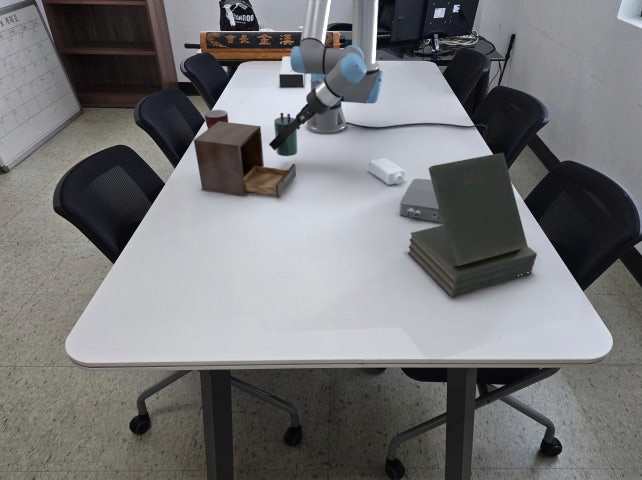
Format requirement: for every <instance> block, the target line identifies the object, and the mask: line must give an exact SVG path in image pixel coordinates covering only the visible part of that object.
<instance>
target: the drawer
mask: <svg viewBox="0 0 642 480" xmlns="http://www.w3.org/2000/svg"><path fill="white" fill-rule="evenodd" d="M296 165H297V164H296V163H292V165H291V166H290V167H289V168H288V169H285V168H283V169H282V168H276V167H268V166H264V167H262V166H254V167H253V168H252V169H251V170H250V171H249V172H248V173H247V174H246V175H245V176H244V184H245V191H248V192H250V193H257V194H264V195H271V196H275V197H276V198H277V199H279V198H280V197H281V196H282V195H283V193H284V192H285V191H286V190H287V189H288V187H289V186H290V185H291V184H292V182H293V181H294V180H295V178H296V177H297V167H296Z"/></svg>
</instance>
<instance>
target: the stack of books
mask: <svg viewBox="0 0 642 480" xmlns="http://www.w3.org/2000/svg"><path fill="white" fill-rule="evenodd" d="M427 169H428V172H429V177H430V180H432V184H433V188H434V192H435V196H436V200H437V204H438V208H439V211H440V215H441V219H442V223H441V224H442V225H437V226H433V227H430V228H425V229H420V230H416V231H412V232H410V235H411V236H410V238H409V239H408V240H409V242H410V245H408V248H409V252H407V254H408V255H409V257H411V259H413V261H414V262H415V263H416V264H417V265H418V266H419V267H420V268H421V269H422V270H423V271H424V272H425V273H426V274H427V275H428V276H429V277H430V278H431V279H432V280H433V281H434V282H435V283H436V284H437V285H438V286H439V288H441V290H443V292H444V293H445V294H446V295H447V296H448V297H449V298H450V299H452V298H455V297H458V296H461V295H465V294H468V293H472V292H475V291H479V290H482V289H485V288H489V287H492V286H495V285H499V284H503V283H506V282H509V281H513V280H516V279H519V278H523V277H526V276H530V275H531V274H532V272H533V268H534V265H535V263H536V262H535V261H536V259H537V256H538V252H536V251H534V250H533V249H532V247H531V248H530V247H529V246H528V241H527V238H526V234H525V230H524V227H523V222H522V218H521V215H520V212H519V211H520V210H519V207H518V204H517V203H518V202H517V199H516V196H515V192H514V187H513V184H512V181H511V176H510V173H509V168H508V165H507V161H506V157H505V154H504V152H498V153H493V154H489V155H488V154H487V155H482V156H477V157H471V158H467V159H461V160H456V161H450V162H445V163H440V164H433V165H431V166H430V167H428V168H427ZM531 271H532V272H531ZM527 272H529V273H527ZM521 274H522V275H521ZM518 275H519V276H518Z"/></svg>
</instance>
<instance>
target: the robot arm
mask: <svg viewBox="0 0 642 480" xmlns="http://www.w3.org/2000/svg"><path fill="white" fill-rule="evenodd" d="M331 3H332V0H306V3H305V11H304V17H303V23H302V30H301V36H300V43H299V45H297V46H293V47H292V48H291V50H290V63H291V68H292V70H293V71H294V72H296V73H303V74H304V75H307V74H308V75H310V80H309V82H310V92H309V93H307V95H306V96H305V99H306V104H305V105H303V107H302V108H301V109H300V111H299V112H298V113H296V115H295V118H294V119H295V120H294V121H292V122H291V123H290V124H289V125H288V126H287V127H286V128H285V129H284V130H283V131H282V130H280V134H279V135H278V136H277V137H275V136H274V138H273V139H272V140H271V141H270V142H269V143H268V146H269V147H270V148H271V149H272V150H273V151H275V152H276V149H277V148H278V147H279V146H280V145H281V144H282V143H283V142H284V141H285V140H286V139H287V138H288V137H289V136H290V135H291V134H292V133H293V132H294V131H295V130H296V129H297V131H299V130H300V129H301V126H302V125H305V123H306V127H307V129H308V130H309V131H310V132H313V133H316V134H324V135H325V134H328V135H329V134H337V133H340V132H343V131H344V130H345V129H346V127H347V125H349V126H352V127H356V128H363V129H369V130H371V129H372V130H381V129H382V130H383V129H390V128H400V127H408V126H409V127H410V126H411V127H412V126H445V127H456V128H462V129H472V128H477V127H482V128H484V130H485V129H488V127H487V126H486V125H484V124H481V123H479V124H474V125H460V124H453V123H443V122H442V123H441V122H416V123H415V122H414V123H413V122H412V123H401V124H393V125H384V126H370V125H369V126H368V125H362V124H356V123H352V122H347V121H346V118H345V115H344V112H343V108H342V103H356V104H364V105H367V104H376V103H377V102H378V100H379V96H380V91H381V86H382V83H383V76H384V71H383V70H381V69H380V63H378V61H376V60H377V59H376V58H377V57H376V56H377V37H378V36H377V35H378V16H379V0H352V24H351V25H352V26H351V27H352V29H351V33H352V34H351V38H352V39H351V45H347V46H345V47H344V48H332V47H331V48H329V47H325V46H326V38H327V32H328V27H329V25H328V24H329V18H330V11H331V6H332V5H331Z"/></svg>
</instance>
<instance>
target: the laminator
mask: <svg viewBox="0 0 642 480" xmlns="http://www.w3.org/2000/svg"><path fill="white" fill-rule="evenodd" d="M279 68H280V70H279V77H278V78H279V87H280V88H291V87H292V88H293V87H294V88H296V87H297V88H299V87H300V88H301V87H302V88H304V86H305V74H303V73H296V72H294V71H293V70H292V68H291V63H290V56H287V55H286V56H284V55H283V56H282V59H281V64H280V67H279Z"/></svg>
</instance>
